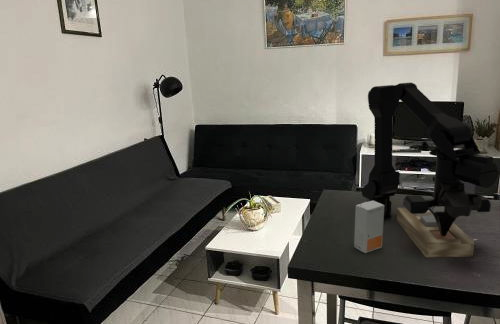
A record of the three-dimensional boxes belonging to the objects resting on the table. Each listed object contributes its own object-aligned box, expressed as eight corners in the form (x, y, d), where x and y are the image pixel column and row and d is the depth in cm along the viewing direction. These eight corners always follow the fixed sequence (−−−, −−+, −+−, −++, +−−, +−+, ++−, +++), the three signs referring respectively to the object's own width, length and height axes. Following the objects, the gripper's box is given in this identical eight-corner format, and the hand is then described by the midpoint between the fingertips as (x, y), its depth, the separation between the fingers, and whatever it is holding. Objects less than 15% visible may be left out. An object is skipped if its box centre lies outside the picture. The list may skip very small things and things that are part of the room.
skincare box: (365, 254, 95) (367, 210, 92) (353, 247, 99) (354, 204, 96) (383, 247, 98) (385, 204, 95) (370, 241, 102) (372, 199, 98)
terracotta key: (437, 247, 93) (437, 239, 93) (429, 239, 98) (430, 231, 97) (455, 247, 93) (456, 238, 93) (447, 238, 97) (448, 231, 97)
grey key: (426, 230, 100) (426, 222, 99) (419, 223, 104) (420, 215, 103) (443, 229, 99) (444, 221, 99) (436, 222, 104) (437, 215, 103)
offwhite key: (416, 219, 106) (416, 211, 106) (410, 213, 111) (411, 206, 110) (432, 218, 106) (433, 211, 106) (426, 212, 110) (426, 205, 110)
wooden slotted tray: (426, 257, 92) (427, 242, 91) (396, 220, 113) (397, 207, 112) (472, 256, 92) (474, 241, 91) (434, 219, 113) (435, 206, 112)
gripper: (421, 188, 84) (417, 251, 88) (509, 185, 82) (500, 250, 87) (404, 173, 94) (400, 230, 98) (481, 171, 93) (474, 229, 97)
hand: (443, 235), depth 95 cm, fingers closed, pressing on terracotta key
